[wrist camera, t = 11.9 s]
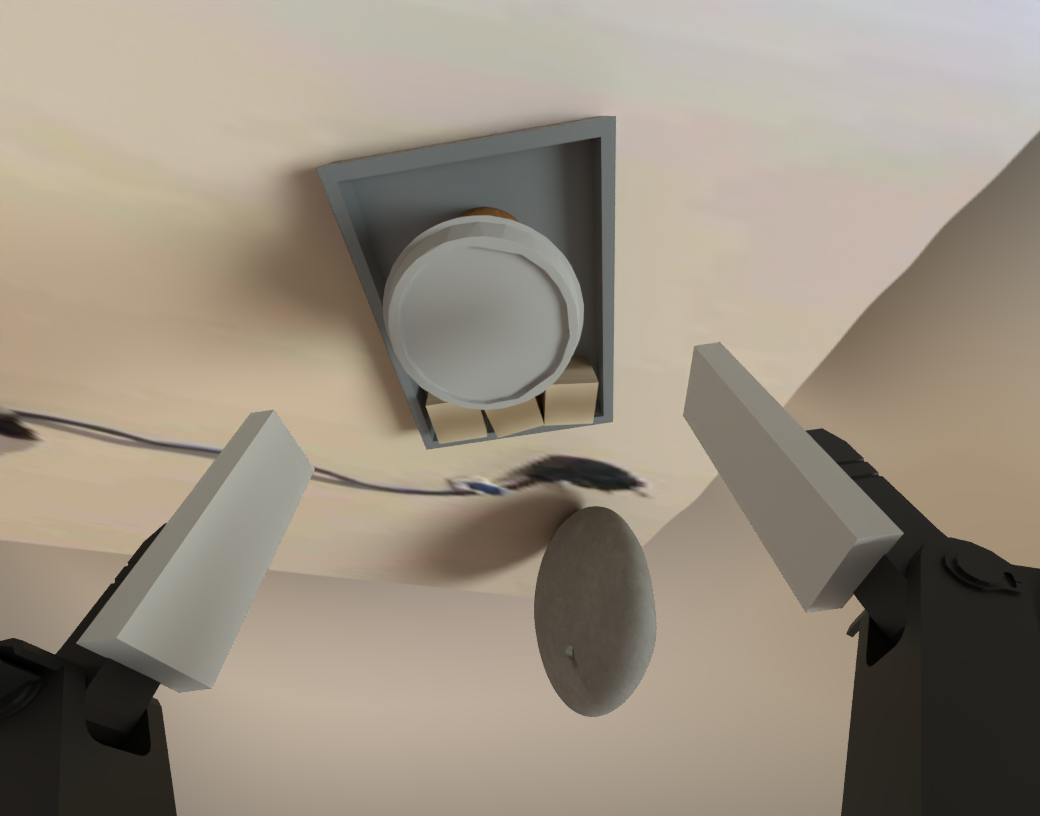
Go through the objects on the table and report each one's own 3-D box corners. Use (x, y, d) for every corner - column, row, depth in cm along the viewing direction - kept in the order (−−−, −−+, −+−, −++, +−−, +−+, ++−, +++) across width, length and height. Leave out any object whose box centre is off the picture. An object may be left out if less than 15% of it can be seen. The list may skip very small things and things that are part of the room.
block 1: (431, 377, 33) (425, 405, 30) (478, 370, 33) (477, 397, 30) (443, 414, 35) (439, 444, 32) (487, 407, 35) (487, 436, 32)
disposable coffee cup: (441, 330, 30) (418, 430, 21) (397, 195, 25) (337, 249, 15) (562, 306, 30) (595, 399, 20) (545, 163, 24) (580, 198, 15)
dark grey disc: (559, 567, 53) (587, 744, 38) (512, 558, 51) (522, 741, 36) (637, 480, 44) (716, 672, 29) (583, 464, 41) (637, 662, 27)
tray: (333, 162, 24) (316, 168, 22) (602, 115, 23) (615, 116, 21) (430, 427, 37) (426, 449, 35) (604, 401, 37) (612, 421, 34)
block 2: (481, 373, 33) (480, 401, 30) (526, 359, 33) (530, 386, 29) (496, 408, 35) (497, 438, 32) (539, 396, 35) (544, 424, 32)
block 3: (540, 358, 33) (546, 384, 29) (587, 356, 33) (598, 382, 30) (539, 397, 35) (544, 425, 32) (583, 395, 35) (592, 423, 32)
